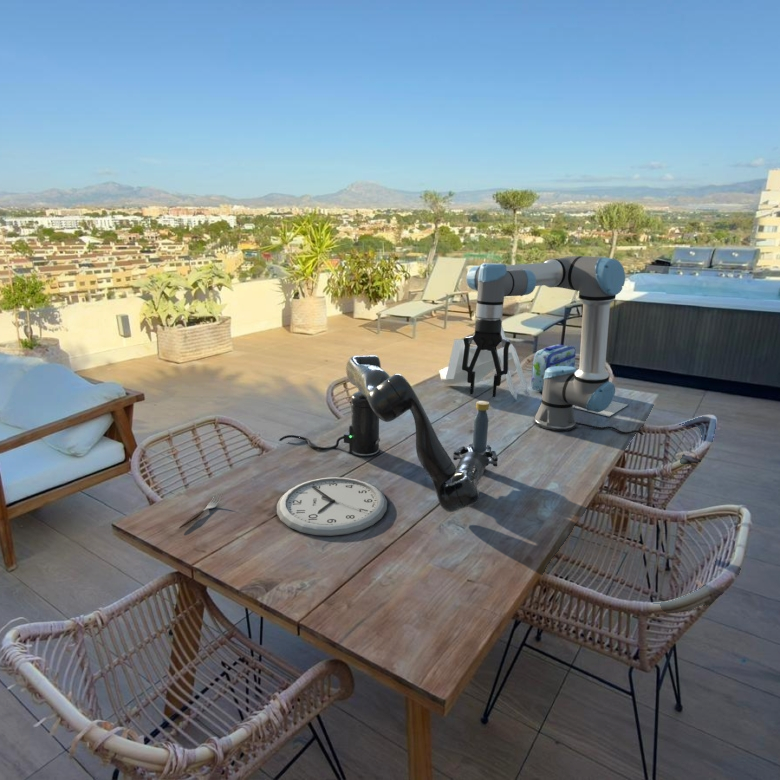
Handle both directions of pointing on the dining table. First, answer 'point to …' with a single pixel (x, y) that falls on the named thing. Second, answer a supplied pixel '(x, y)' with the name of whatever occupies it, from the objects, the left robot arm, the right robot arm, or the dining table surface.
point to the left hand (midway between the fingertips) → (480, 446)
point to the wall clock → (331, 506)
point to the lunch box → (550, 362)
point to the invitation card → (608, 409)
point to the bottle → (480, 431)
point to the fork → (209, 506)
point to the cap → (482, 405)
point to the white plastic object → (480, 365)
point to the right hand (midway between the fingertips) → (482, 394)
